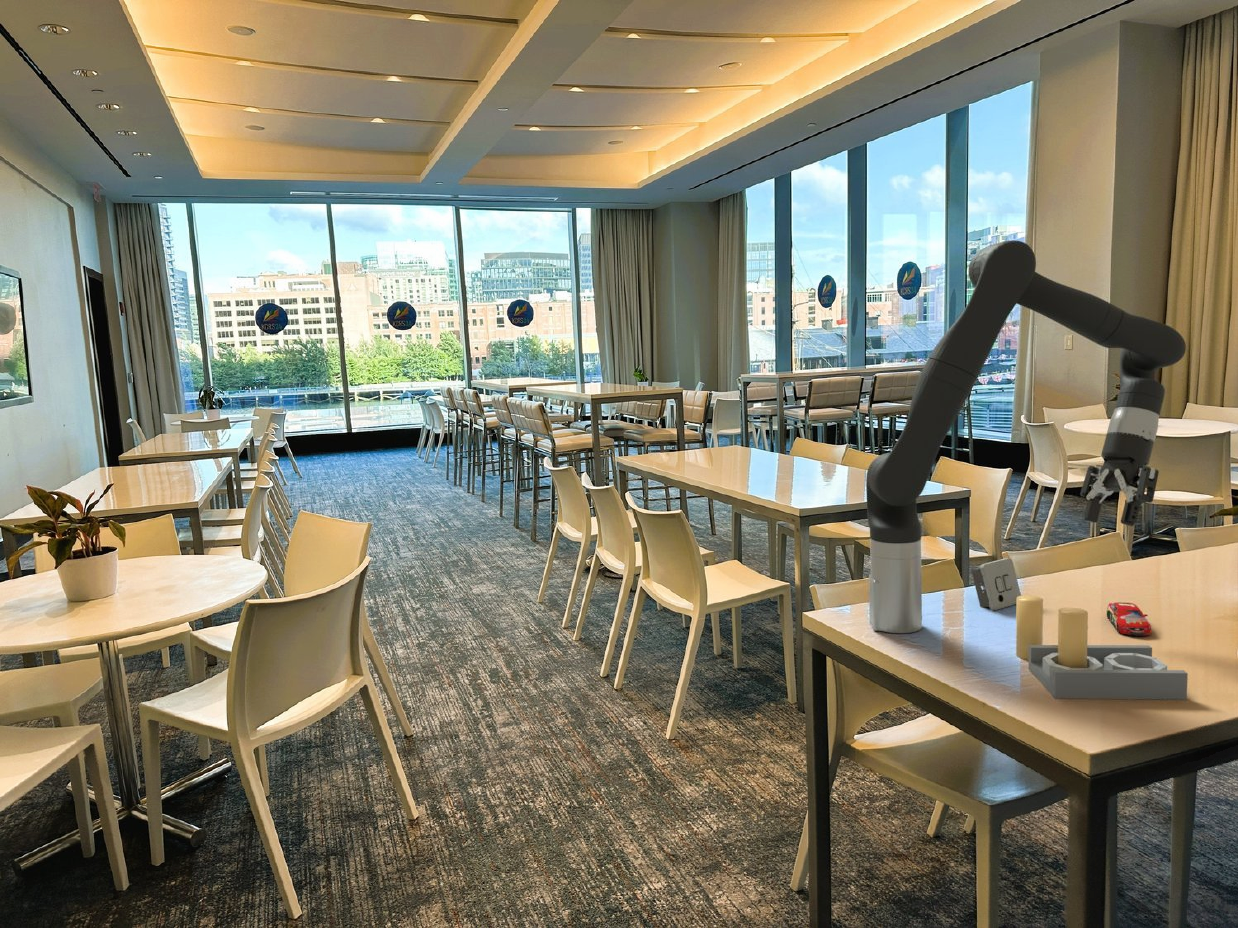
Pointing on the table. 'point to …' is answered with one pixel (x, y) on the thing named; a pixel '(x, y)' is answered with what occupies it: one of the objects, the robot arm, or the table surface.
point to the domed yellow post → (1028, 624)
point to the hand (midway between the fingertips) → (1108, 523)
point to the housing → (1101, 666)
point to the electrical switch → (996, 584)
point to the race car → (1128, 619)
